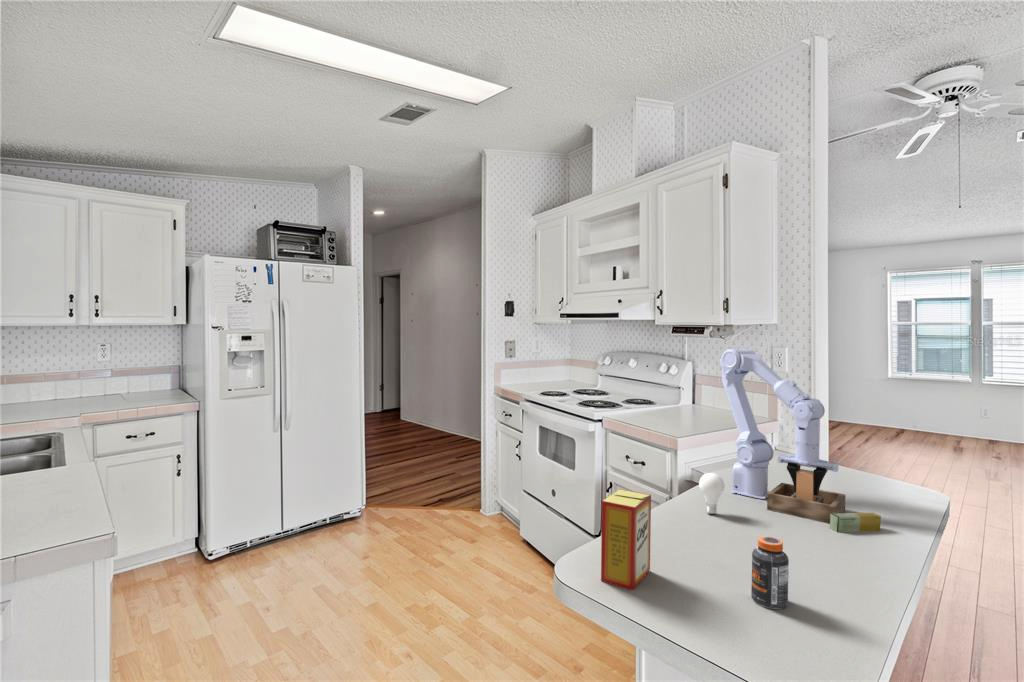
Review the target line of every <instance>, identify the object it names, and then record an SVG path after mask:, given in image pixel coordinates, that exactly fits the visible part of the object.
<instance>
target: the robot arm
mask: <svg viewBox="0 0 1024 682" xmlns="http://www.w3.org/2000/svg"><path fill="white" fill-rule="evenodd" d="M719 363H720V367H721V382H722V384H723V387H724V391H725V394H726V396H727V397H726V398H727V400H728V403H729V406H730V410H731V414H732V415H733V419H734V422H735V424H736V425H735V426H736V429H737V432H738V434H739V435H738V437H737V438H736V440H735V447H736V457H737V460H738V461H736V462H735V463H734V464H733V467H732V479H731V483H732V484H731V489H732V490H731V491H730V492H733V493H732V494H735V493H737V494H736V495H740V494H741V496H746V497H749V498H754V499H760V500H766V499H767V493H769V492H770V490H769V491H768V489H769V488H768V485H769V483H768V482H769V465H770V461H772V459H773V458H774V452H775V451H774V449H773V446H772V445H771V444H770V443H769V442H768V439H767V436H766V435H765V434H764V433H762V432H761V431H760V430H759V428H758V426H757V422H756V419H755V416H754V414H753V410H752V408H751V405H750V402H749V399H748V395H747V393H746V390H745V387H744V383H743V380H744V379H745V377H746V376H747V375H748V374H749V373H750V372H753V373H754V375H756V376H757V377H759V378H760V379H761V380H762V381H763V382H765V383H767V384H768V385H769V386H770V387H772V388H773V395H774V396H775V397H777V399H779V400H780V401H781V402H782V403H783V404H784V405H785V406H787V407H788V408H789V409H790V412H791V415H792V417H793V418H794V421H795V423H794V425H795V445H794V446H795V448H794V449H795V454H794V455H789V454H788V455H786V454H785V455H784V454H778V455H777V457H776V458H777V459H776V461H777V463H778V464H779V463H780V464H782V463H783V464H787V465H786V469H787V472H788V474H789V476H790V479H791V481H792V483H793V484H792V485H794V489H795V492H796V478H797V471H798V470H800V469H801V466H802V467H808V468H814V469H813V471H814V495H816V496H817V495H818V492H819V490H820V487H821V485H822V482H823V479H824V478H825V476H826V474H827V473H828V471H831V472H834V473H837V472H839V463H837V462H832V461H828V460H822V459H820V440H821V438H820V437H821V436H820V435H821V419H822V418H823V417H824V415H825V412H826V411H825V406H824V405H823V403H822V401H821V400H819V399H817V398H811V395H810V394H809V393H805V392H804V391H803V390H802V389H800V388H799V387H798V386H797V384H798V383H796V382H795V381H791V380H790V379H785V380H784V379H782V377H781V376H780V375H778V374H777V373H776V372H775V371H774V370H773V368H771V367H770V366H769V364H767V363H766V362H765V360H763V359H762V357H761V355H760V354H758V353H756V351H755V350H754V349H750V348H745V349H744V348H743V349H732V348H728V349H726V350H725V351H724V352H723V353H722V355H721V357H720V359H719Z"/></svg>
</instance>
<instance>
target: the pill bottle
mask: <svg viewBox="0 0 1024 682" xmlns="http://www.w3.org/2000/svg"><path fill="white" fill-rule="evenodd" d="M783 543H784V542H783V541H782V540H781V539H780V538H778V537H774V536H769V535H762V536H759V537H758V540H757V547H755V548H753V550H752V551H751V553H752V554H751V555H752V556H751V592H750V593H751V599H752V601H754V603H756V604H757V605H759V606H761V607H764V608H767V609H772V610H782V609H785V608H786V607H788V603H789V601H788V600H789V574H790V573H789V562H790V561H789V556H788V554H787V553H785V552H784V551H783V550H784V544H783Z"/></svg>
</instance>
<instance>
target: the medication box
mask: <svg viewBox="0 0 1024 682" xmlns="http://www.w3.org/2000/svg"><path fill="white" fill-rule="evenodd" d="M830 516H831V518H830V523H829V529H830V530H831V529H832V530H831V531H833V532H835V531H836V532H835V533H843V532H844V533H845V532H849V531H850V532H870V531H872V532H873V531H881V523H882V522H881V521H882V520H881V519H882V516H881V515H879V514H877V513H875V512H844V513H836V514H832V513H831V514H830Z"/></svg>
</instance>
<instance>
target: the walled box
mask: <svg viewBox="0 0 1024 682" xmlns="http://www.w3.org/2000/svg"><path fill="white" fill-rule="evenodd" d="M766 499H767V500H766V501H767V502H766V503H767V504H766V505H767V506H766V510H767V511H772V512H776V513H781V514H786V515H789V516H795V517H798V518H802V519H803V518H804V519H808V520H811V521H812V520H813V521H816V522H820V523H826V524H830V518H831V516H830V514H831V513H832V514H836V513H845V512H846V494H845V493H839V492H834V491H829V490H824V489H823V490H822V489H819V492H818V495H817V496H816V501H815V502H814V501H809V500H804V499H799V498H796V492H795V489H794V484H792V483H785V482H781V483H779V484H778V485H776V486H775V487H774V488H772V489H771V490H769V493H767V498H766ZM844 511H845V512H844Z"/></svg>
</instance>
